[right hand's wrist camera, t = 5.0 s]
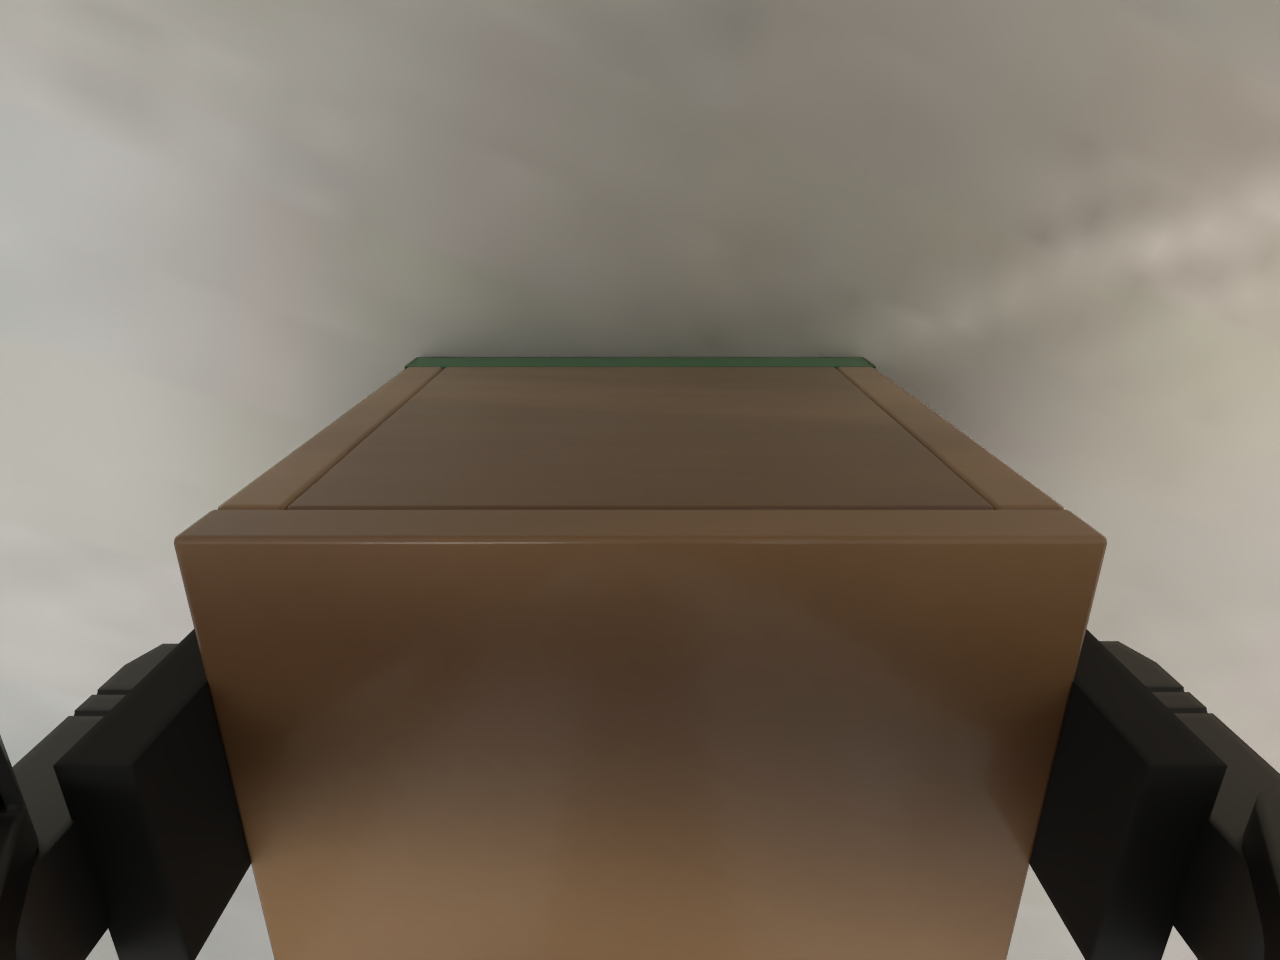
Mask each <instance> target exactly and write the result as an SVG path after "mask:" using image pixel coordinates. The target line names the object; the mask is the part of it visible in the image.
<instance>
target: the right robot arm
mask: <svg viewBox="0 0 1280 960" xmlns="http://www.w3.org/2000/svg"><path fill="white" fill-rule="evenodd" d="M250 864H251V860H250V856H249V852H248V847H247V843H246V839H245V835H244V831H243V827H242V823H241V818H240V814H239V810H238V806H237V802H236V798H235V794H234V790H233V785H232V781H231V777H230V773H229V769H228V765H227V761H226V756H225V752H224V748H223V744H222V740H221V736H220V732H219V727H218V723H217V719H216V715H215V711H214V707H213V703H212V699H211V694H210V690H209V686H208V682H207V678H206V674H205V670H204V665H203V661H202V657H201V653H200V649H199V645H198V641H197V637H196V632H195V629H194V630H193V631H191V632H190V633H189V634H188V635H187V636H186V637H185V638H184V639H183V640H182V641H181V642H180V643H179V644H162V645H160V646H158V647H156V648H155V649H153V650H151V651H149V652H147V653H146V654H144V655H142V656H140V657H139V658H137V659H135V660H133V661H131V662H130V663H128V664H126V665H125V666H123V667H122V668H121V669H120V670H119V671H118V672H117V673H116V674H115V675H114V676H112V677H111V678H110V679H109V680H108V681H107V682H106V683H105V684H104V685H102V686H101V687H100V688H99V689H98V693H97V695H91V696H90V697H89V698H88V699H87V700H86V701H85V702H84V703H83V704H82V705H80V706H79V707H78V708H77V709H76V710H75V714H74V716H68V717H67V718H66V719H65V720H64V721H63V722H62V723H61V724H60V725H58V726H57V727H56V728H55V729H54V730H53V731H52V732H51V733H50V734H49V735H47V736H46V737H45V738H44V739H43V740H42V741H41V742H40V743H39V744H38V745H36V746H35V747H34V748H33V749H32V750H31V751H30V752H29V753H28V754H26V755H25V756H24V757H23V758H22V759H21V760H20V761H19V762H18V763H17V764H15V765H14V766H13V767H12V766H11V763H10V760H9V758H8V755H7V752H6V749H5V747H4V744H3V741H2V739H1V736H0V960H85V959H86V958H87V956H88V955H89V954H90V952H91V951H92V949H93V948H94V947H95V945H96V944H97V943H98V941H99V940H100V938H101V937H102V936H103V934H104V933H105V932H106V930H107V929H108V928H109V931H110V934H111V937H112V940H113V943H114V946H115V949H116V952H117V954H118V957H119V960H195V959H196V957H197V955H198V954H199V952H200V950H201V948H202V947H203V945H204V943H205V942H206V940H207V938H208V936H209V935H210V933H211V931H212V930H213V928H214V926H215V924H216V923H217V921H218V919H219V918H220V916H221V914H222V912H223V911H224V909H225V907H226V906H227V904H228V902H229V900H230V899H231V897H232V895H233V894H234V892H235V890H236V888H237V887H238V885H239V883H240V882H241V880H242V878H243V876H244V875H245V873H246V871H247V870H248V868H249V866H250ZM1029 864H1030V866H1031V867H1032V869H1033V871H1034V872H1035V874H1036V876H1037V878H1038V879H1039V881H1040V883H1041V884H1042V886H1043V888H1044V890H1045V891H1046V893H1047V895H1048V896H1049V898H1050V900H1051V902H1052V903H1053V905H1054V907H1055V908H1056V910H1057V912H1058V914H1059V915H1060V917H1061V919H1062V920H1063V922H1064V924H1065V926H1066V927H1067V929H1068V931H1069V932H1070V934H1071V936H1072V938H1073V939H1074V941H1075V943H1076V944H1077V946H1078V948H1079V950H1080V951H1081V953H1082V955H1083V956H1084V958H1085V960H1161V959H1162V956H1163V953H1164V950H1165V947H1166V944H1167V941H1168V938H1169V935H1170V932H1171V929H1172V927H1173V926H1174V927H1175V928H1176V930H1177V931H1178V932H1179V934H1180V935H1181V936H1182V938H1183V939H1184V941H1185V942H1186V943H1187V945H1188V946H1189V947H1190V949H1191V950H1192V952H1193V953H1194V954H1195V956H1196V957H1197V958H1198V960H1280V774H1279V773H1278V772H1277V771H1276V770H1275V769H1274V768H1273V767H1272V766H1270V765H1269V764H1268V763H1267V762H1266V761H1265V760H1264V759H1263V758H1262V757H1260V756H1259V755H1258V754H1257V753H1256V752H1255V751H1254V750H1253V749H1252V748H1250V747H1249V746H1248V745H1247V744H1246V743H1245V742H1244V741H1243V740H1242V739H1240V738H1239V737H1238V736H1237V735H1236V734H1235V733H1234V732H1233V731H1232V730H1230V729H1229V728H1228V727H1227V726H1226V725H1225V724H1224V723H1223V722H1222V721H1220V720H1219V719H1218V718H1217V717H1216V716H1215V715H1214V714H1213V713H1207V708H1206V707H1205V706H1204V705H1203V704H1202V703H1201V702H1199V701H1198V700H1197V699H1196V698H1195V697H1194V696H1193V695H1192V694H1191V693H1189V692H1184V687H1183V686H1182V685H1181V684H1179V683H1178V682H1177V681H1176V680H1175V679H1174V678H1173V677H1172V676H1171V675H1169V674H1168V673H1167V672H1166V671H1165V670H1164V669H1163V668H1162V667H1161V666H1159V665H1158V664H1157V663H1156V662H1154V661H1153V660H1151V659H1149V658H1147V657H1145V656H1144V655H1142V654H1140V653H1138V652H1136V651H1135V650H1133V649H1131V648H1129V647H1127V646H1126V645H1124V644H1122V643H1120V642H1118V641H1098V640H1097V639H1096V638H1095V637H1094V636H1093V635H1092V634H1091V633H1090V632H1089V631H1088V630H1087V629H1086V632H1085V636H1084V640H1083V644H1082V648H1081V652H1080V657H1079V661H1078V665H1077V669H1076V673H1075V677H1074V681H1073V685H1072V689H1071V693H1070V698H1069V702H1068V706H1067V710H1066V714H1065V718H1064V722H1063V726H1062V731H1061V735H1060V739H1059V743H1058V747H1057V751H1056V755H1055V759H1054V764H1053V768H1052V772H1051V776H1050V780H1049V784H1048V788H1047V792H1046V797H1045V801H1044V805H1043V809H1042V813H1041V817H1040V821H1039V825H1038V830H1037V834H1036V838H1035V842H1034V846H1033V850H1032V854H1031V858H1030V863H1029Z"/></svg>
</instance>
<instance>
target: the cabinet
mask: <svg viewBox="0 0 1280 960" xmlns="http://www.w3.org/2000/svg"><path fill="white" fill-rule="evenodd" d="M1106 545H1107V541H1106V538H1105V537H1104V536H1103V535H1102V534H1100V533H1099V532H1098V531H1096V530H1095V529H1093V528H1092V527H1091V526H1089V525H1088V524H1087V523H1085V522H1084V521H1083V520H1081V519H1080V518H1078V517H1077V516H1076V515H1074V514H1073V513H1072V512H1070V511H1068V510H1064V509H1063V506H1061V505H1060V504H1059V503H1057V502H1056V501H1054V500H1053V499H1052V498H1050V497H1049V496H1048V495H1046V494H1045V493H1044V492H1042V491H1041V490H1039V489H1038V488H1037V487H1035V486H1034V485H1033V484H1031V483H1030V482H1029V481H1027V480H1026V479H1024V478H1023V477H1022V476H1020V475H1019V474H1018V473H1016V472H1015V471H1014V470H1012V469H1011V468H1010V467H1008V466H1007V465H1005V464H1004V463H1003V462H1001V461H1000V460H999V459H997V458H996V457H995V456H993V455H992V454H990V453H989V452H988V451H986V450H985V449H984V448H982V447H981V446H980V445H978V444H977V443H976V442H974V441H973V440H971V439H970V438H969V437H967V436H966V435H965V434H963V433H962V432H961V431H959V430H958V429H956V428H955V427H954V426H952V425H951V424H950V423H948V422H947V421H946V420H944V419H943V418H941V417H940V416H939V415H937V414H936V413H935V412H933V411H932V410H931V409H929V408H928V407H927V406H925V405H924V404H922V403H921V402H920V401H918V400H917V399H916V398H914V397H913V396H912V395H910V394H909V393H907V392H906V391H905V390H903V389H902V388H901V387H899V386H898V385H897V384H895V383H894V382H893V381H891V380H890V379H888V378H887V377H886V376H884V375H883V374H882V373H880V372H879V371H878V370H876V366H874V365H873V364H872V363H870V362H869V361H868V360H866V359H865V358H416V359H414V360H413V361H412V362H410V363H409V364H407V365H406V366H405V370H403V371H402V372H401V373H399V374H398V375H397V376H395V377H394V378H392V379H391V380H390V381H388V382H387V383H386V384H384V385H383V386H382V387H380V388H379V389H378V390H376V391H375V392H373V393H372V394H371V395H369V396H368V397H367V398H365V399H364V400H363V401H361V402H360V403H359V404H357V405H356V406H355V407H353V408H352V409H350V410H349V411H348V412H346V413H345V414H344V415H342V416H341V417H340V418H338V419H337V420H336V421H334V422H333V423H331V424H330V425H329V426H327V427H326V428H325V429H323V430H322V431H321V432H319V433H318V434H317V435H315V436H314V437H312V438H311V439H310V440H308V441H307V442H306V443H304V444H303V445H302V446H300V447H299V448H298V449H296V450H295V451H293V452H292V453H291V454H289V455H288V456H287V457H285V458H284V459H283V460H281V461H280V462H279V463H277V464H276V465H274V466H273V467H272V468H270V469H269V470H268V471H266V472H265V473H264V474H262V475H261V476H260V477H258V478H257V479H256V480H254V481H253V482H251V483H250V484H249V485H247V486H246V487H245V488H243V489H242V490H241V491H239V492H238V493H237V494H235V495H234V496H232V497H231V498H230V499H228V500H227V501H226V502H224V503H223V504H222V505H220V506H219V508H218V510H213V511H211V512H209V513H208V514H206V515H205V516H204V517H202V518H201V519H200V520H198V521H197V522H196V523H194V524H193V525H191V526H190V527H189V528H187V529H186V530H185V531H183V532H182V533H181V534H179V535H178V536H176V538H175V540H174V546H175V550H176V554H177V558H178V562H179V566H180V570H181V575H182V579H183V583H184V587H185V591H186V595H187V599H188V603H189V608H190V612H191V616H192V620H193V624H194V628H195V632H196V637H197V641H198V645H199V649H200V653H201V657H202V661H203V665H204V670H205V674H206V678H207V682H208V686H209V690H210V694H211V699H212V703H213V707H214V711H215V715H216V719H217V723H218V727H219V732H220V736H221V740H222V744H223V748H224V752H225V756H226V761H227V765H228V769H229V773H230V777H231V781H232V785H233V790H234V794H235V798H236V802H237V806H238V810H239V814H240V818H241V823H242V827H243V831H244V835H245V839H246V843H247V847H248V852H249V856H250V860H251V864H252V868H253V872H254V876H255V880H256V885H257V889H258V893H259V897H260V901H261V905H262V909H263V914H264V918H265V922H266V926H267V930H268V934H269V938H270V942H271V947H272V951H273V955H274V959H275V960H1006V958H1007V954H1008V950H1009V945H1010V941H1011V937H1012V933H1013V929H1014V925H1015V921H1016V917H1017V912H1018V908H1019V904H1020V900H1021V896H1022V892H1023V888H1024V884H1025V879H1026V875H1027V871H1028V867H1029V863H1030V858H1031V854H1032V850H1033V846H1034V842H1035V838H1036V834H1037V830H1038V825H1039V821H1040V817H1041V813H1042V809H1043V805H1044V801H1045V797H1046V792H1047V788H1048V784H1049V780H1050V776H1051V772H1052V768H1053V764H1054V759H1055V755H1056V751H1057V747H1058V743H1059V739H1060V735H1061V731H1062V726H1063V722H1064V718H1065V714H1066V710H1067V706H1068V702H1069V698H1070V693H1071V689H1072V685H1073V681H1074V677H1075V673H1076V669H1077V665H1078V661H1079V657H1080V652H1081V648H1082V644H1083V640H1084V636H1085V632H1086V628H1087V624H1088V619H1089V615H1090V611H1091V607H1092V603H1093V599H1094V595H1095V591H1096V586H1097V582H1098V578H1099V574H1100V570H1101V566H1102V562H1103V558H1104V553H1105V549H1106Z"/></svg>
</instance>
